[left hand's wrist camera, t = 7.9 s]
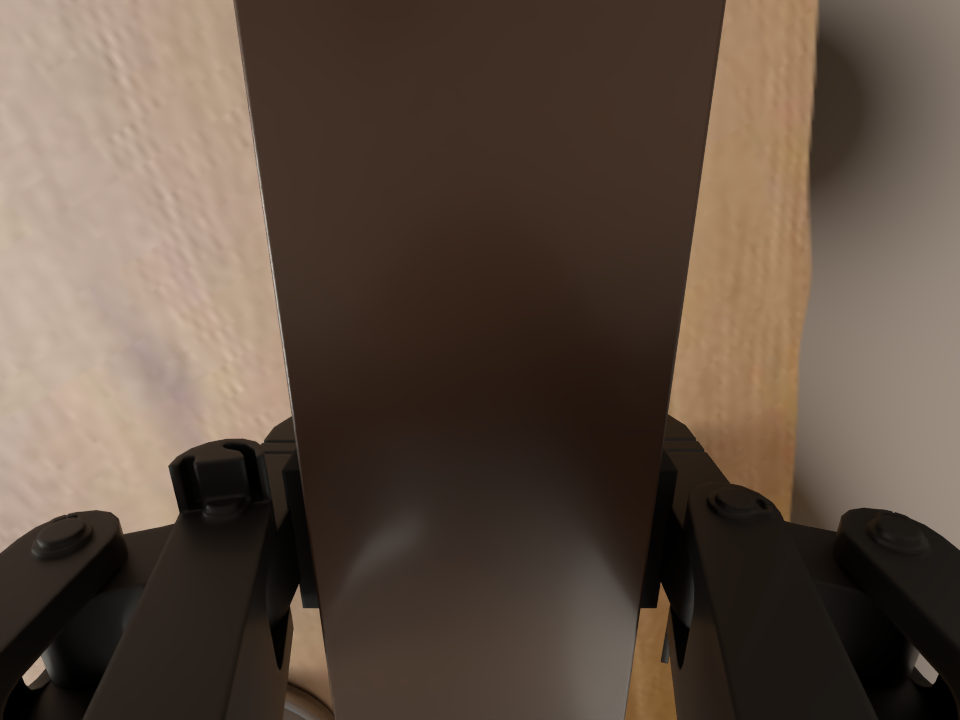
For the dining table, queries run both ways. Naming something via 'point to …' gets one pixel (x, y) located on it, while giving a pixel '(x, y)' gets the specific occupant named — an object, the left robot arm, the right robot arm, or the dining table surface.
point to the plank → (479, 328)
